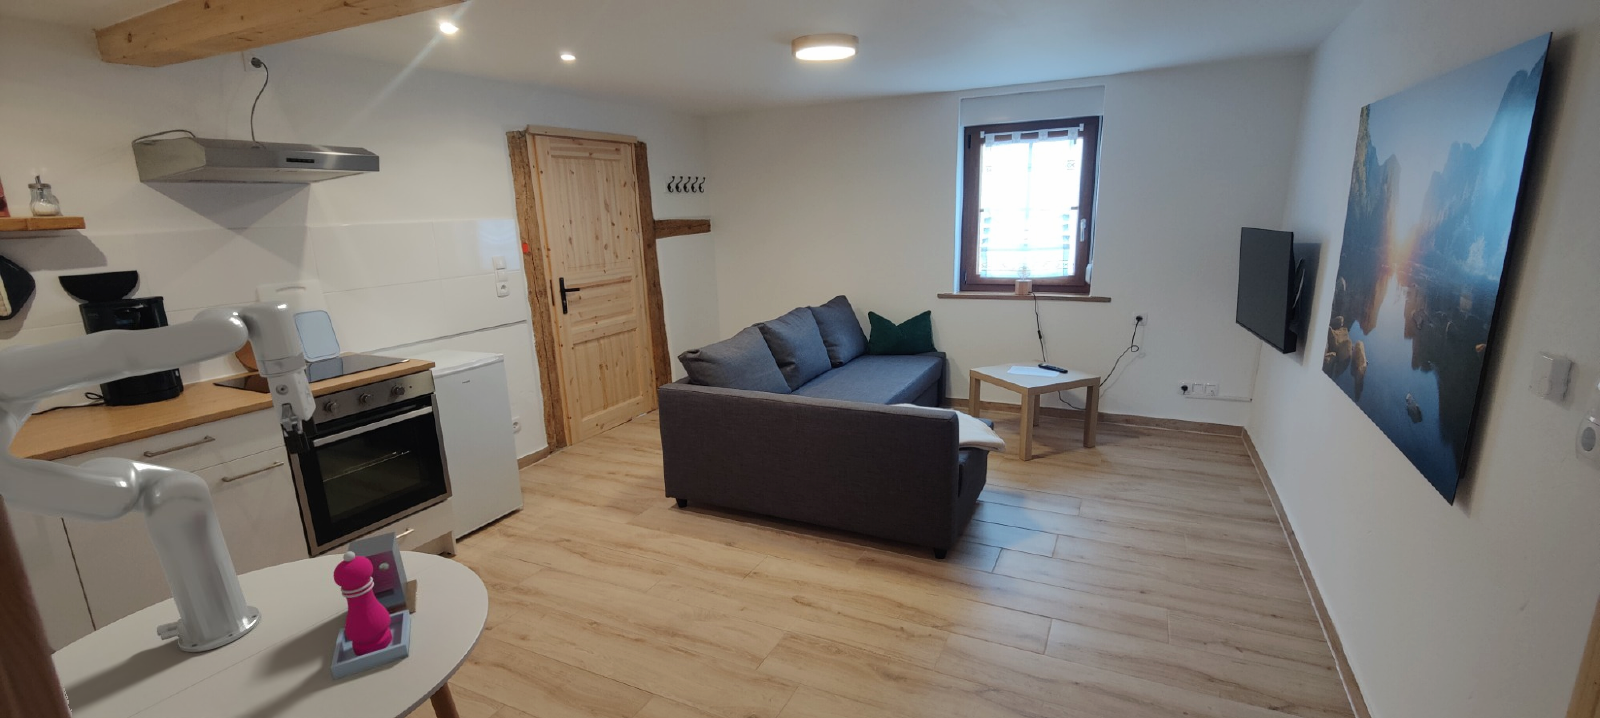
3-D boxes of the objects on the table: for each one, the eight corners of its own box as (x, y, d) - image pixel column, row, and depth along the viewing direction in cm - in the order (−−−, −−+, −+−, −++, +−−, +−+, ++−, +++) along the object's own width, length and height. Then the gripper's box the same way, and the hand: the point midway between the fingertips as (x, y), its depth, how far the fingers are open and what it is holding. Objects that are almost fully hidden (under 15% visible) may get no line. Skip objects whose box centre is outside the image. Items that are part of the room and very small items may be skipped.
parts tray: (334, 679, 119) (330, 667, 118) (342, 640, 129) (339, 629, 128) (408, 656, 124) (405, 644, 123) (411, 620, 134) (408, 609, 133)
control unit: (352, 629, 132) (334, 568, 128) (358, 599, 141) (342, 541, 137) (415, 611, 137) (400, 551, 132) (417, 583, 146) (403, 526, 142)
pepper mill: (374, 660, 122) (348, 565, 117) (341, 656, 124) (313, 562, 118) (404, 633, 129) (380, 542, 123) (372, 629, 131) (347, 539, 125)
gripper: (296, 372, 127) (319, 455, 132) (312, 351, 141) (332, 426, 146) (247, 379, 123) (272, 464, 128) (268, 357, 138) (290, 433, 143)
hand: (304, 443), depth 137 cm, fingers open, 9 cm apart
